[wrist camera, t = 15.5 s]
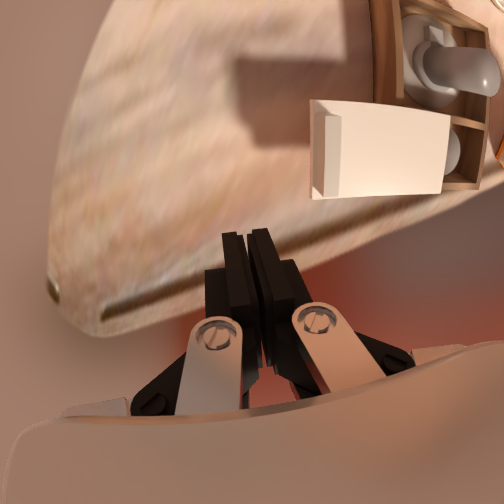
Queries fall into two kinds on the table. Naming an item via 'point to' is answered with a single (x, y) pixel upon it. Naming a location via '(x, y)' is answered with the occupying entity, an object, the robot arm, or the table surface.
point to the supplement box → (501, 154)
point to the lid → (375, 149)
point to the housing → (418, 96)
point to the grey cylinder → (454, 66)
